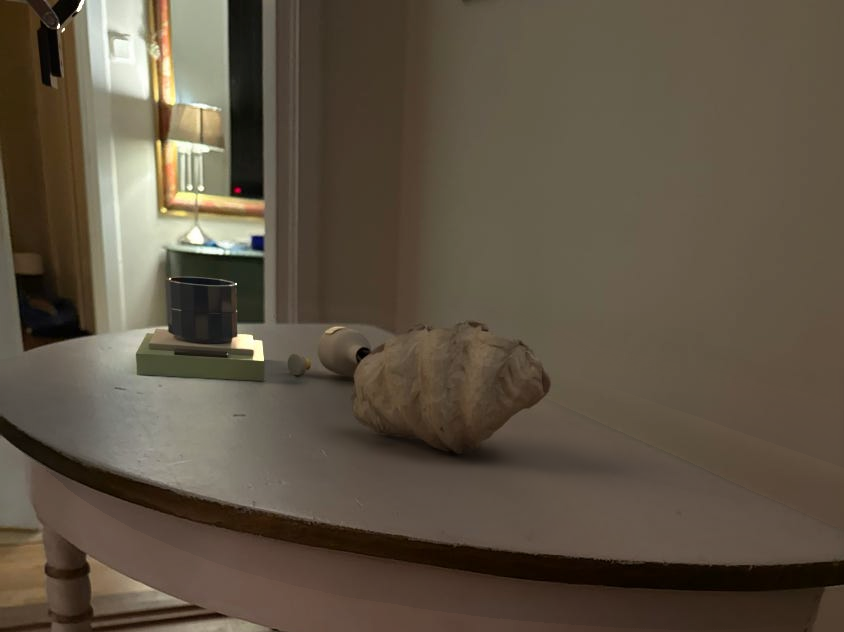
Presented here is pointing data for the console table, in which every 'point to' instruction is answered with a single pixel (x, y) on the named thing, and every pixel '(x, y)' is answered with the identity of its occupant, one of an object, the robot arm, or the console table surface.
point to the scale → (200, 358)
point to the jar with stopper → (335, 352)
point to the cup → (202, 309)
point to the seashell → (447, 385)
